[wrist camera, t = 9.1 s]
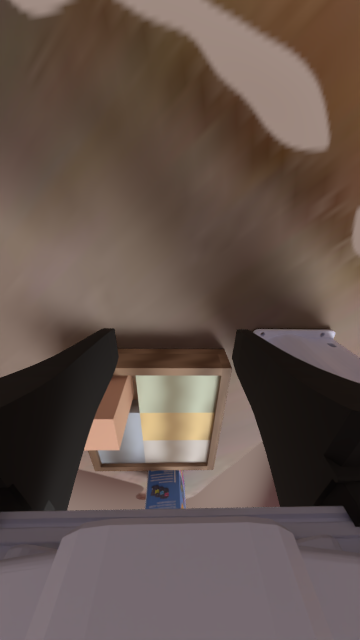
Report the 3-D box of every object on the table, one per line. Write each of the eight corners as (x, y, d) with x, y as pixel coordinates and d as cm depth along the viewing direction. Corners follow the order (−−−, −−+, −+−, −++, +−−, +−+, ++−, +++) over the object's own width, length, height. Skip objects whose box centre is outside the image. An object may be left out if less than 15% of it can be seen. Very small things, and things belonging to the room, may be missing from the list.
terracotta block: (131, 365, 22) (113, 419, 16) (134, 393, 24) (119, 450, 18) (92, 365, 22) (59, 419, 16) (98, 392, 24) (71, 450, 18)
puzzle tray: (224, 349, 23) (231, 368, 19) (209, 445, 31) (213, 469, 28) (76, 348, 22) (59, 367, 19) (103, 446, 31) (95, 471, 28)
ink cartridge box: (186, 480, 36) (192, 618, 23) (158, 482, 37) (149, 621, 24) (180, 451, 32) (183, 602, 19) (149, 454, 32) (131, 605, 19)
